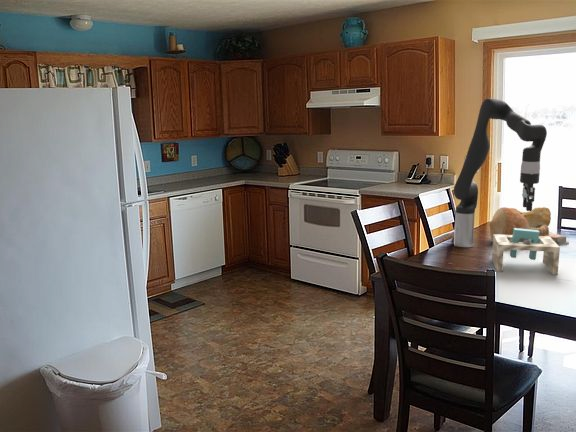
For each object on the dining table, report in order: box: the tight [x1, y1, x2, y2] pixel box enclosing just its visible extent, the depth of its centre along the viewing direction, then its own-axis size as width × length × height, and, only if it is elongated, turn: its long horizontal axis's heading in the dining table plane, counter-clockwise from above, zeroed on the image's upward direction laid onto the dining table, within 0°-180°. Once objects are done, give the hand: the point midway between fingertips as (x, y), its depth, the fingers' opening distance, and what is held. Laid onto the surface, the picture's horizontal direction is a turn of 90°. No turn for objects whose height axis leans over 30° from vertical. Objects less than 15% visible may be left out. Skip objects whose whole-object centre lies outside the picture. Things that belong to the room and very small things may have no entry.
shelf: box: [491, 234, 561, 276], centre depth 245 cm, size 24×20×13 cm
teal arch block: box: [509, 228, 540, 261], centre depth 244 cm, size 10×4×12 cm, turn 77°
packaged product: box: [549, 231, 569, 246], centre depth 292 cm, size 18×5×10 cm
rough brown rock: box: [509, 206, 552, 228], centre depth 313 cm, size 23×16×15 cm
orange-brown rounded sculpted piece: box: [488, 207, 550, 241], centre depth 287 cm, size 20×19×30 cm
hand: (527, 209), depth 241 cm, fingers open, 8 cm apart
